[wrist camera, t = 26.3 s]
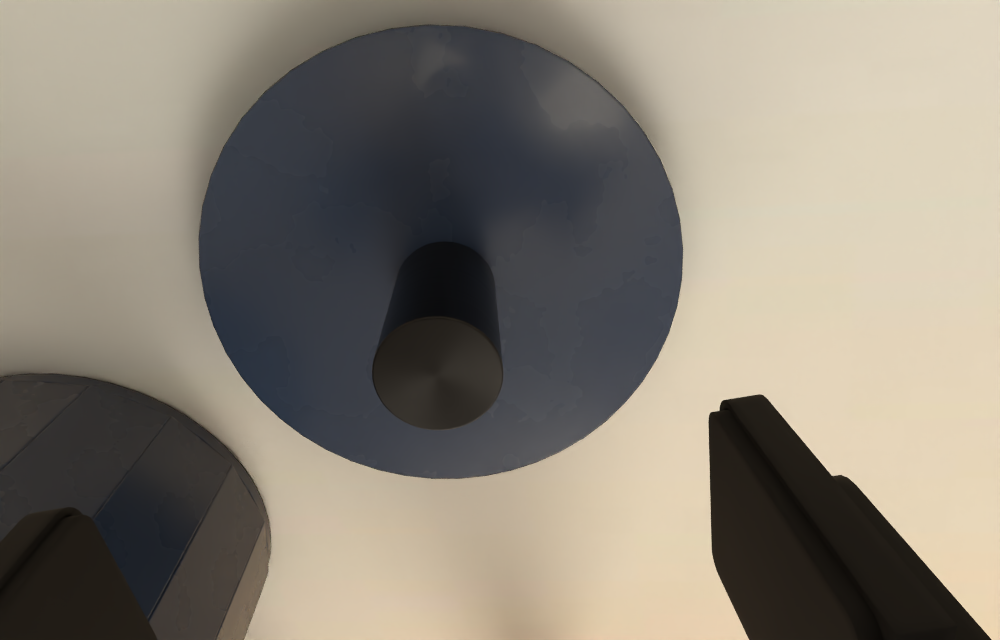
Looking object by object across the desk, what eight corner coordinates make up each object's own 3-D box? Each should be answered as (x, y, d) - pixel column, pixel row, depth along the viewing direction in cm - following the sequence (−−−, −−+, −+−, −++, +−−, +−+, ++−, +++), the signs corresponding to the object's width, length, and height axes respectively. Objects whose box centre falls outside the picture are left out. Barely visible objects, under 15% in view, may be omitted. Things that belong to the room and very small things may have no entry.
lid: (475, -104, 15) (478, -179, 10) (753, 298, 20) (864, 405, 14) (113, 245, 18) (-44, 343, 13) (428, 519, 23) (415, 678, 18)
